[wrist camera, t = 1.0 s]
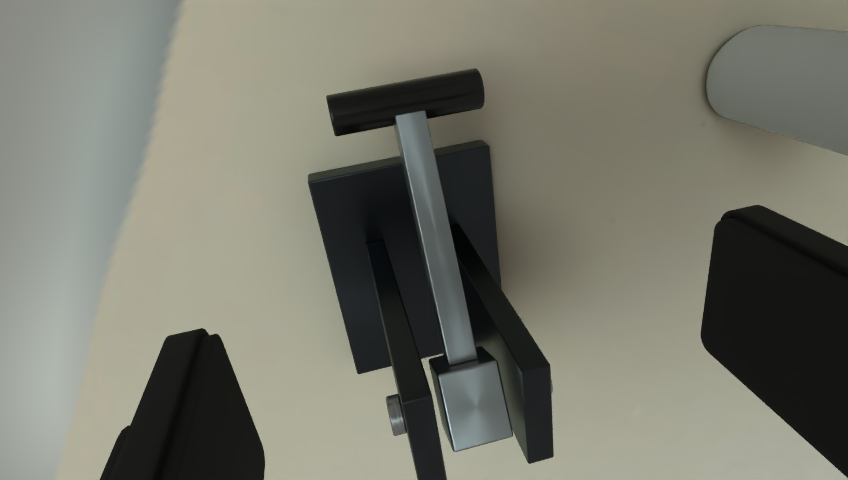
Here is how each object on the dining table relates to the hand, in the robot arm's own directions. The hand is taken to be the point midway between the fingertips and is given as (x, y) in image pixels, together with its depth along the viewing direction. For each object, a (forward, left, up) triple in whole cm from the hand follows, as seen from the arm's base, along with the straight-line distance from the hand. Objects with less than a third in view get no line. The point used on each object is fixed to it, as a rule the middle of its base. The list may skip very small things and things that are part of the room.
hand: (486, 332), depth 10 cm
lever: (+2, +3, -10) cm, 11 cm away
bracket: (+5, +7, -18) cm, 19 cm away
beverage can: (-14, +14, -18) cm, 27 cm away
